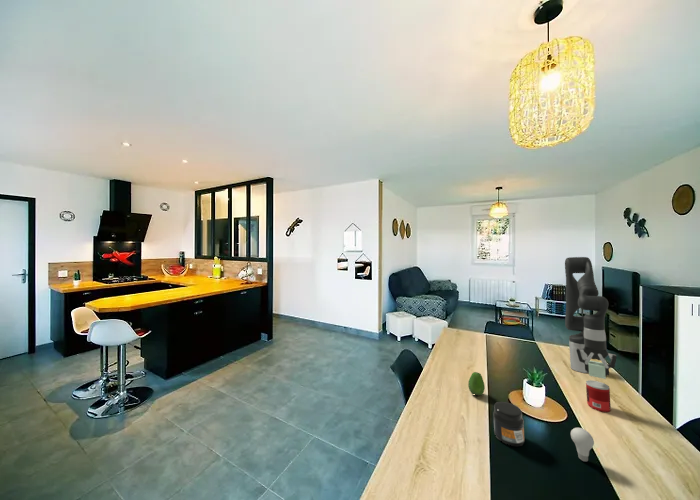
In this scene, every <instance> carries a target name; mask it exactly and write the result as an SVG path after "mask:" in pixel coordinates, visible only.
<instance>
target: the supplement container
mask: <svg viewBox="0 0 700 500" xmlns="http://www.w3.org/2000/svg"><path fill="white" fill-rule="evenodd" d="M492 415H493V416H492V417H493V428H494V429H493V432H494V435H496V436H495V437H496V438H497V440H499V441H500V442H501V441H502V443H503V444H505V445H507V444H508V445H507V446H510V445H511V446H510V447H522V446H523V445H524V444H525V442H526V441H525V428H524V427H525V426H524V424H525V420H524V418H523V412H522V410H521V408H520V407H518V406H517V405H515V404H513V403H511V402H508V401H497V402H495V403H494V405H493V412H492Z"/></svg>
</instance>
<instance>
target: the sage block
mask: <svg viewBox="0 0 700 500" xmlns="http://www.w3.org/2000/svg"><path fill="white" fill-rule="evenodd" d="M588 365H589V373H588V375H589V376H590V377H594V378H597V379H603V380H606V377H607V376H606V375H605V366H604V364H603V363H602V361H601V362H600V361H596V360H590V361H589V363H588Z"/></svg>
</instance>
